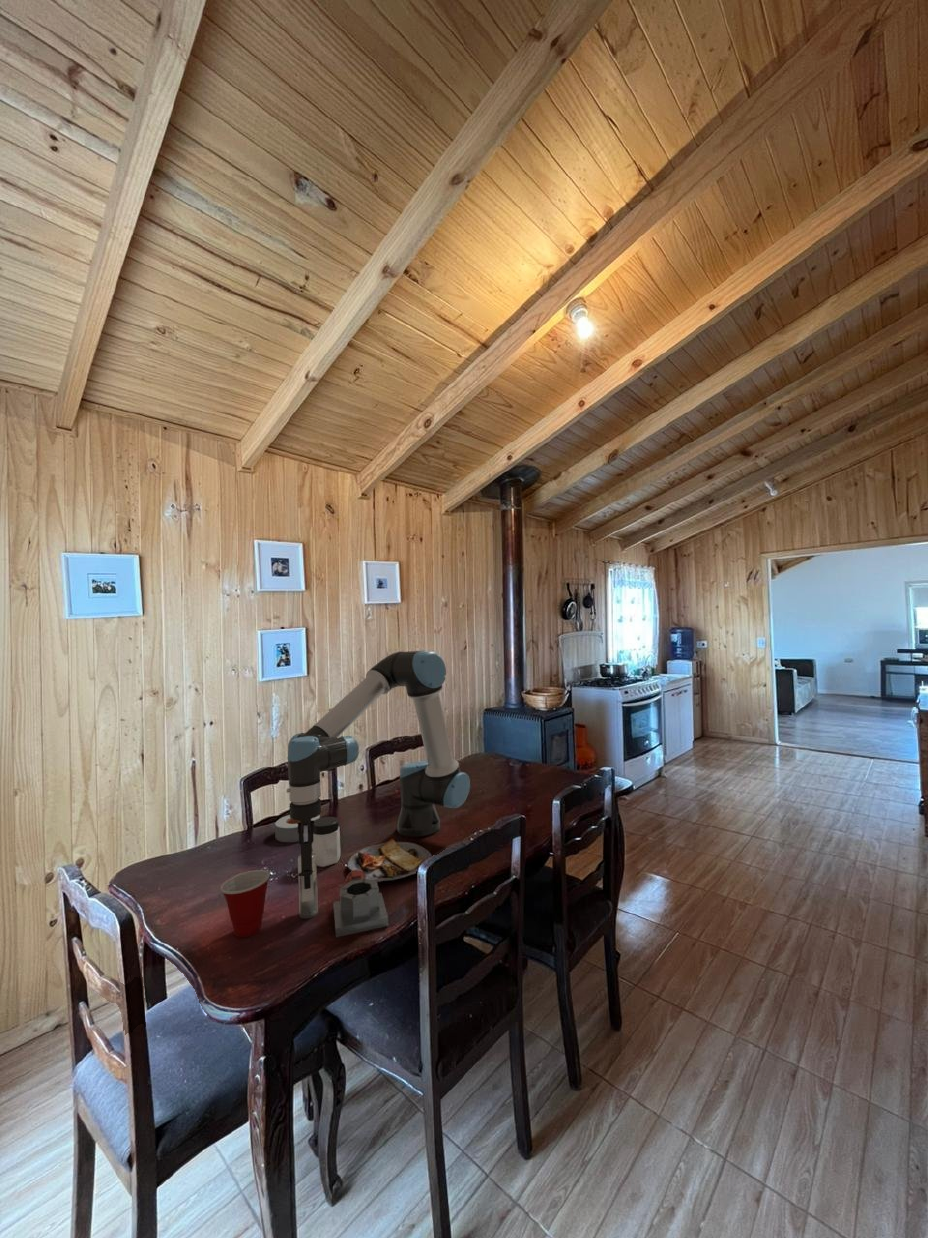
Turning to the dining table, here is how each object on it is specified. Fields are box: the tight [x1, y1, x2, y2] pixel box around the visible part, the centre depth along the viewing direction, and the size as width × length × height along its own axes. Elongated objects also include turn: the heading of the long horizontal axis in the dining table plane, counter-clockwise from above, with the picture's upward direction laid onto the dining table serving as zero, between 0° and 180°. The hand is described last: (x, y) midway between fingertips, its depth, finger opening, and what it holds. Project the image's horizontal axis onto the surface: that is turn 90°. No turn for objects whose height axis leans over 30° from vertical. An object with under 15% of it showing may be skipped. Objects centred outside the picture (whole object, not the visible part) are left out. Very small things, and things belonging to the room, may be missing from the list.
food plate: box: [346, 838, 432, 883], centre depth 146 cm, size 25×23×4 cm
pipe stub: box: [297, 853, 319, 919], centre depth 122 cm, size 4×4×14 cm
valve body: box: [332, 870, 389, 938], centre depth 121 cm, size 12×16×7 cm
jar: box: [312, 816, 342, 868], centre depth 151 cm, size 9×8×12 cm
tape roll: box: [274, 814, 321, 843], centre depth 174 cm, size 15×15×5 cm
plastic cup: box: [220, 869, 271, 938], centre depth 116 cm, size 11×11×12 cm
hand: (308, 892), depth 122 cm, fingers open, 7 cm apart
